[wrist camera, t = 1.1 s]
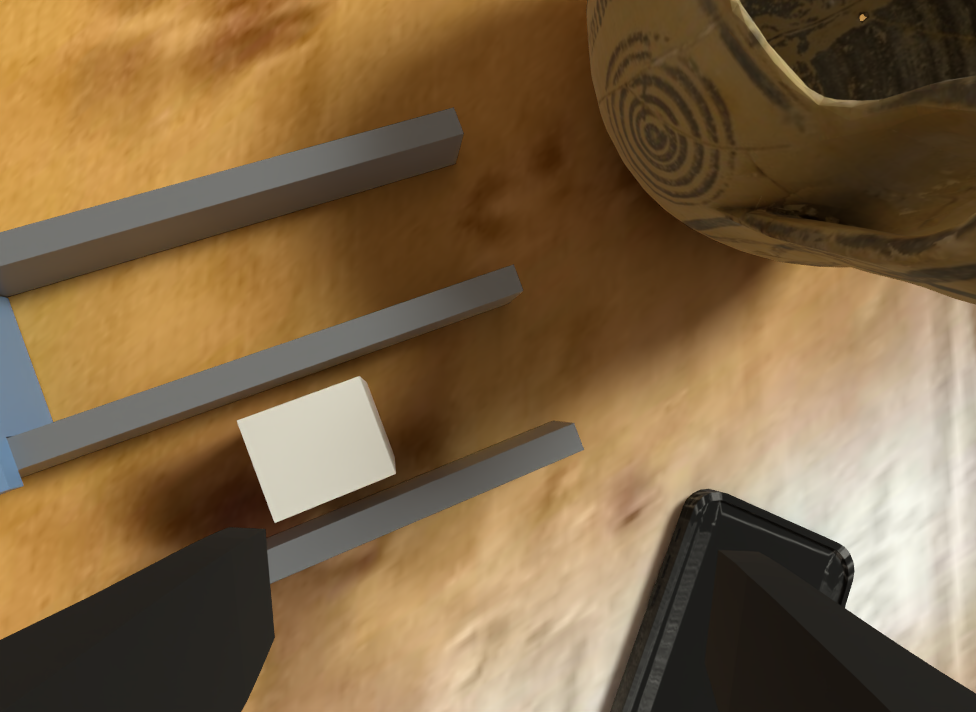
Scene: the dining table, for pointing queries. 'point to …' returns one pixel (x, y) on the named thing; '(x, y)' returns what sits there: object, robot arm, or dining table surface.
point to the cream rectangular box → (318, 447)
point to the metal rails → (224, 207)
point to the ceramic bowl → (802, 126)
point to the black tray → (689, 590)
